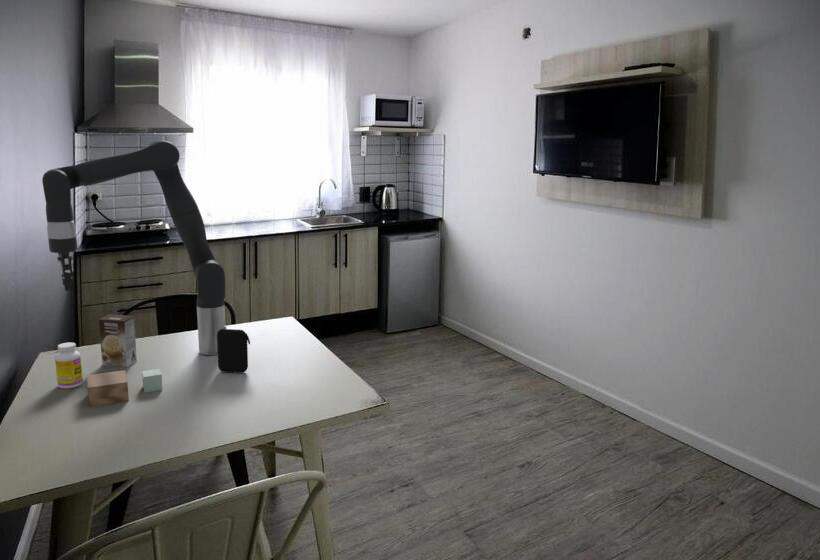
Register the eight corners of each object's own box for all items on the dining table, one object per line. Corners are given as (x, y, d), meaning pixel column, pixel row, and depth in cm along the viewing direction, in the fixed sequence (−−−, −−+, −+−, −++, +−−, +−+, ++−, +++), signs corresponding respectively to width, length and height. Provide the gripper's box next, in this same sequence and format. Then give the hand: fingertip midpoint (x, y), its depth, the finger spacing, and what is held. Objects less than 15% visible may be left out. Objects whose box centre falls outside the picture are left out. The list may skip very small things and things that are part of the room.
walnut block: (126, 388, 177) (125, 370, 176) (128, 401, 169) (127, 382, 167) (89, 394, 172) (87, 375, 171) (89, 407, 164) (87, 387, 163)
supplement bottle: (77, 389, 175) (73, 348, 172) (54, 389, 174) (49, 348, 171) (86, 380, 182) (82, 341, 179) (63, 381, 181) (59, 341, 178)
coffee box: (101, 365, 194) (96, 319, 190) (112, 359, 200) (108, 313, 196) (127, 367, 193) (123, 320, 189) (138, 360, 199) (134, 315, 196)
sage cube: (160, 383, 181) (159, 368, 180) (162, 390, 177) (161, 374, 176) (143, 386, 179) (142, 371, 178) (144, 392, 174) (143, 377, 173)
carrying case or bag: (252, 371, 193) (251, 328, 190) (249, 374, 190) (248, 331, 187) (220, 370, 193) (218, 327, 190) (217, 373, 190) (215, 330, 187)
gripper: (78, 238, 175) (84, 291, 179) (74, 232, 186) (79, 281, 190) (49, 240, 171) (55, 294, 175) (46, 233, 182) (52, 284, 186)
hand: (68, 287), depth 182 cm, fingers open, 8 cm apart
